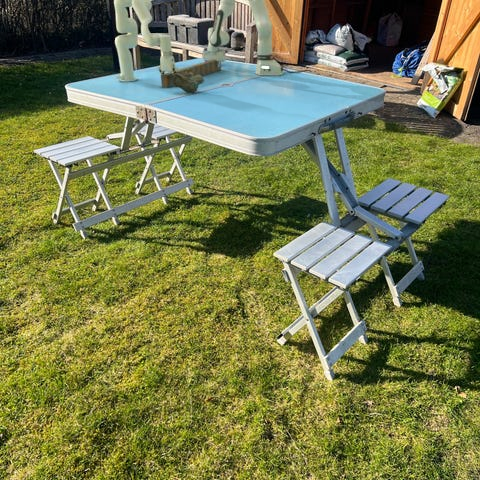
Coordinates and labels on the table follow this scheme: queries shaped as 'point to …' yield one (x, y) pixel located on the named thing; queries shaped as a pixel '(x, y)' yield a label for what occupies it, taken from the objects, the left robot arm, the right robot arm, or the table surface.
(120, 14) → the left robot arm
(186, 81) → the teapot
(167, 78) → the bar
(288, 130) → the table surface
